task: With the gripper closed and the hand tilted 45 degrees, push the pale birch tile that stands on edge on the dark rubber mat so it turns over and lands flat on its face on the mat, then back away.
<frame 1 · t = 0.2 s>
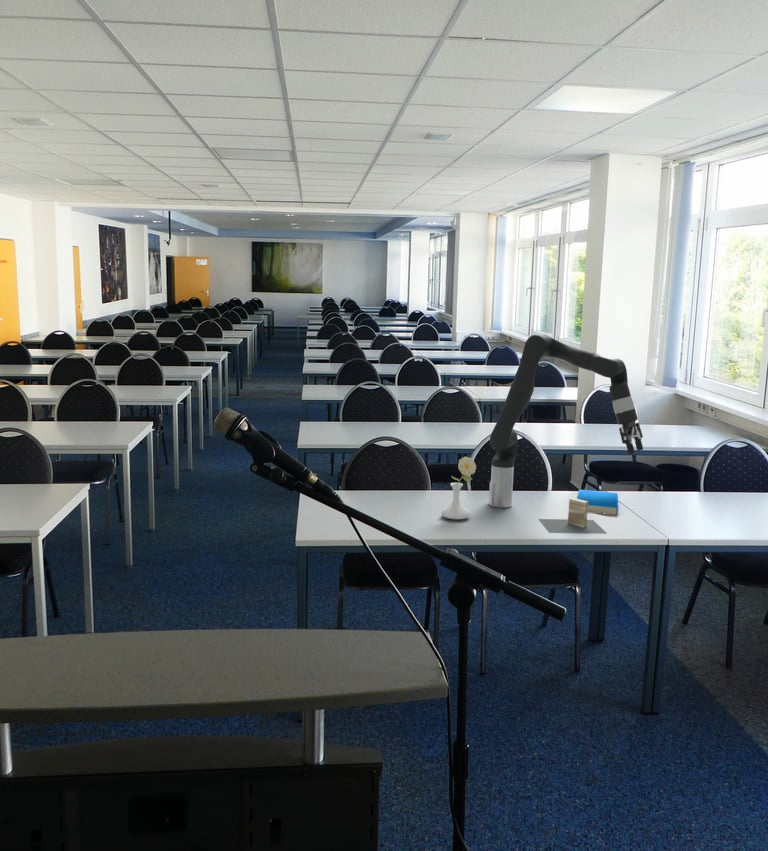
hand: (636, 451, 295), 31 cm above the table, tool tilted 20°, fingers open, 8 cm apart
mat: (571, 527, 304), on the table
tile: (577, 525, 305), point 1 cm above the table, touching mat
book: (597, 507, 337), on the table
flower in vase: (457, 518, 313), on the table
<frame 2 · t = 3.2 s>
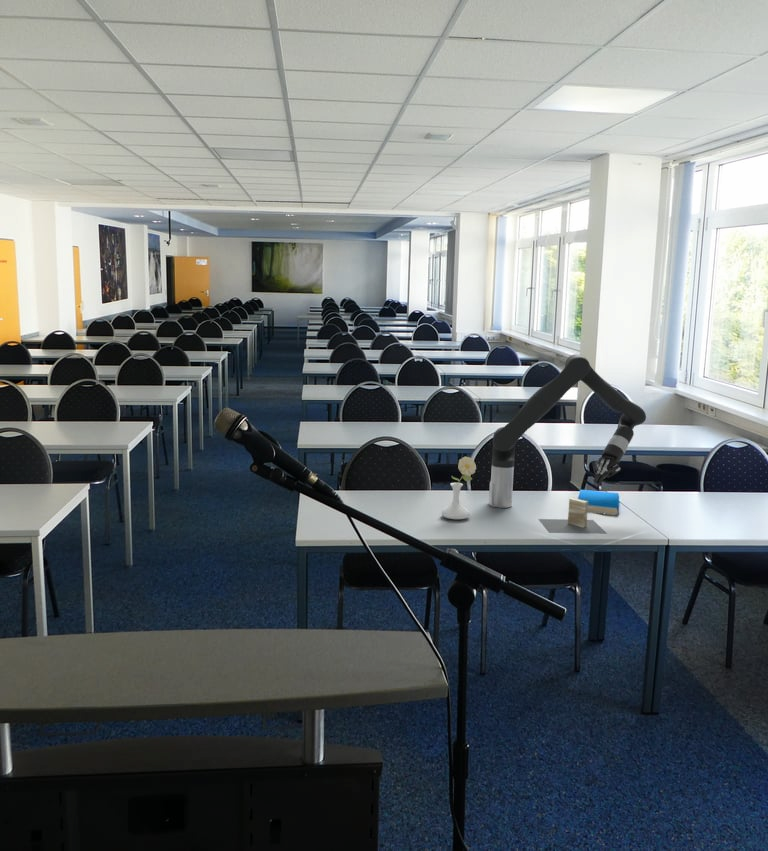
hand: (596, 483, 310), 16 cm above the table, tool tilted 45°, fingers closed
nothing on the table moved.
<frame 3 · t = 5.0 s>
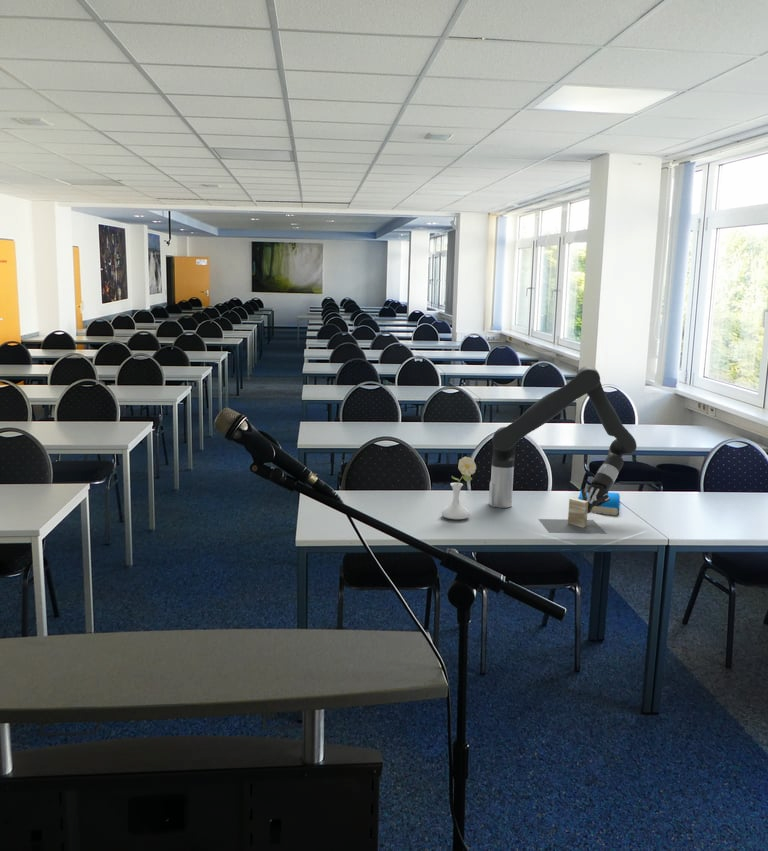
hand: (585, 512, 308), 5 cm above the table, tool tilted 45°, fingers closed
nothing on the table moved.
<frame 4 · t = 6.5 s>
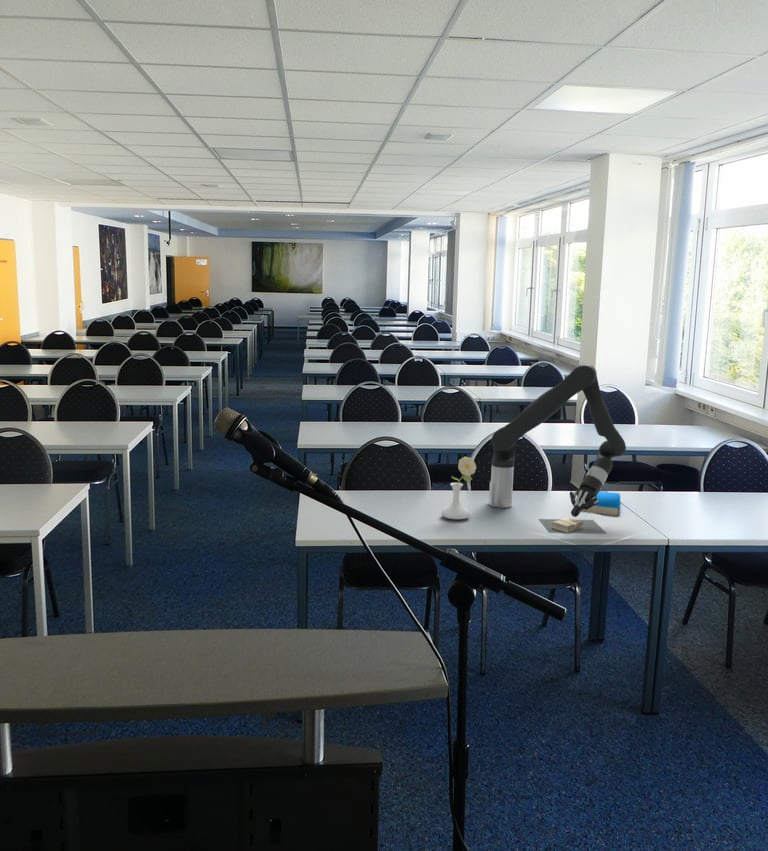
hand: (573, 515, 303), 5 cm above the table, tool tilted 45°, fingers closed
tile: (575, 522, 304), point 2 cm above the table, tilted 90°, touching mat
everything else where it was.
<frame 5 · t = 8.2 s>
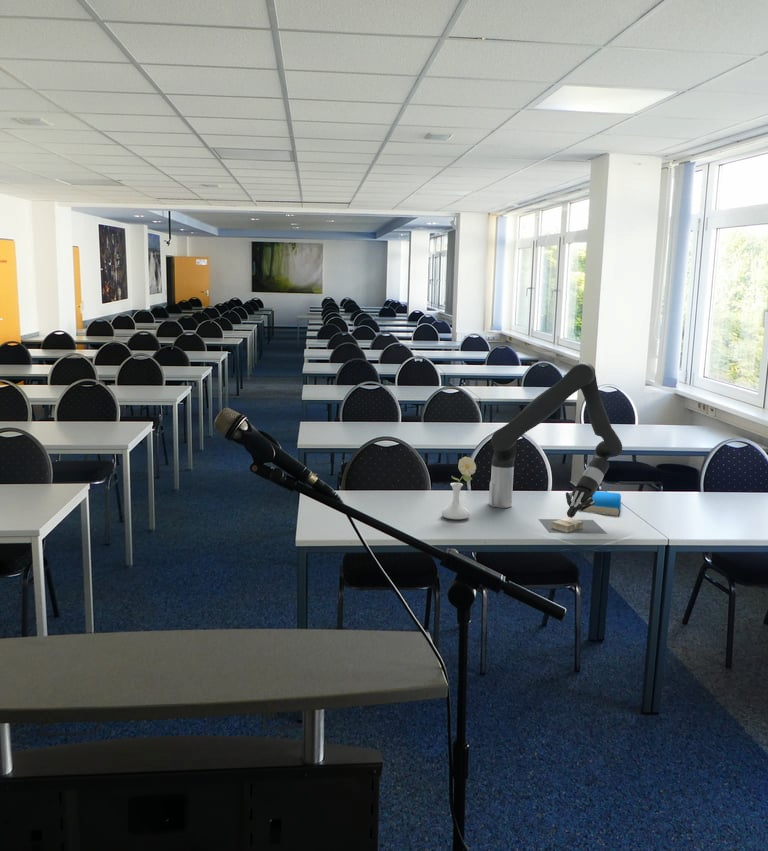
hand: (569, 516, 301), 5 cm above the table, tool tilted 45°, fingers closed
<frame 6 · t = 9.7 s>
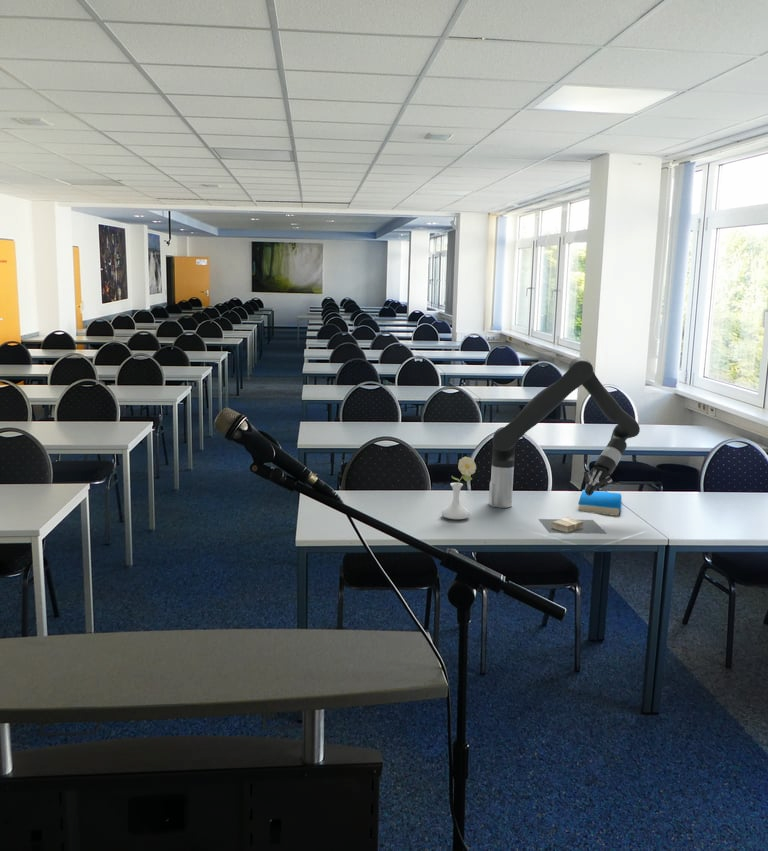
hand: (587, 494, 310), 11 cm above the table, tool tilted 45°, fingers closed
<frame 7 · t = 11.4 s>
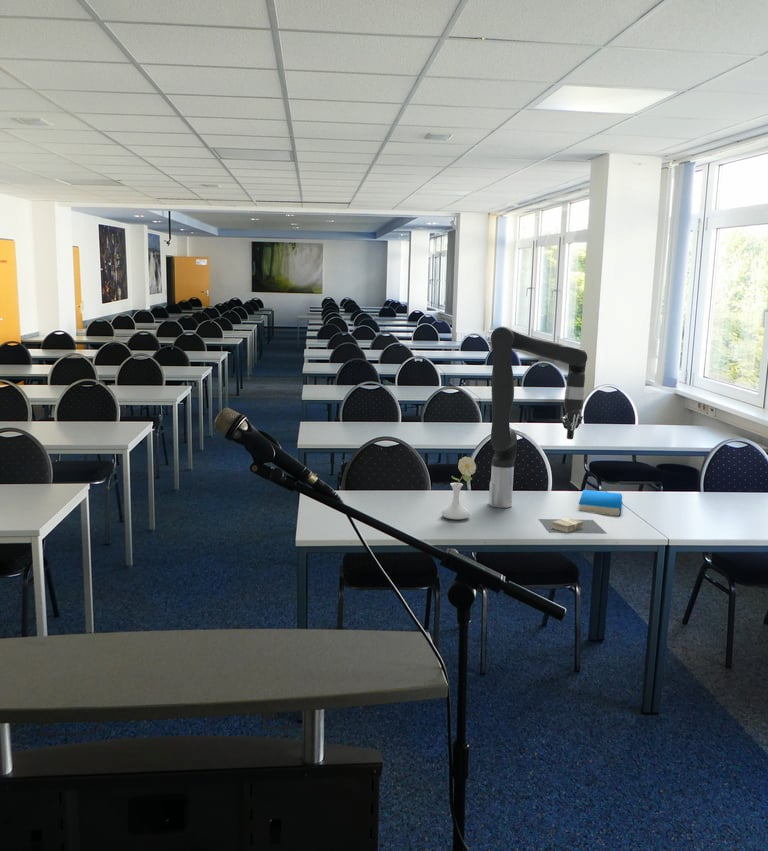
hand: (569, 438, 324), 30 cm above the table, tool pointing down, fingers closed
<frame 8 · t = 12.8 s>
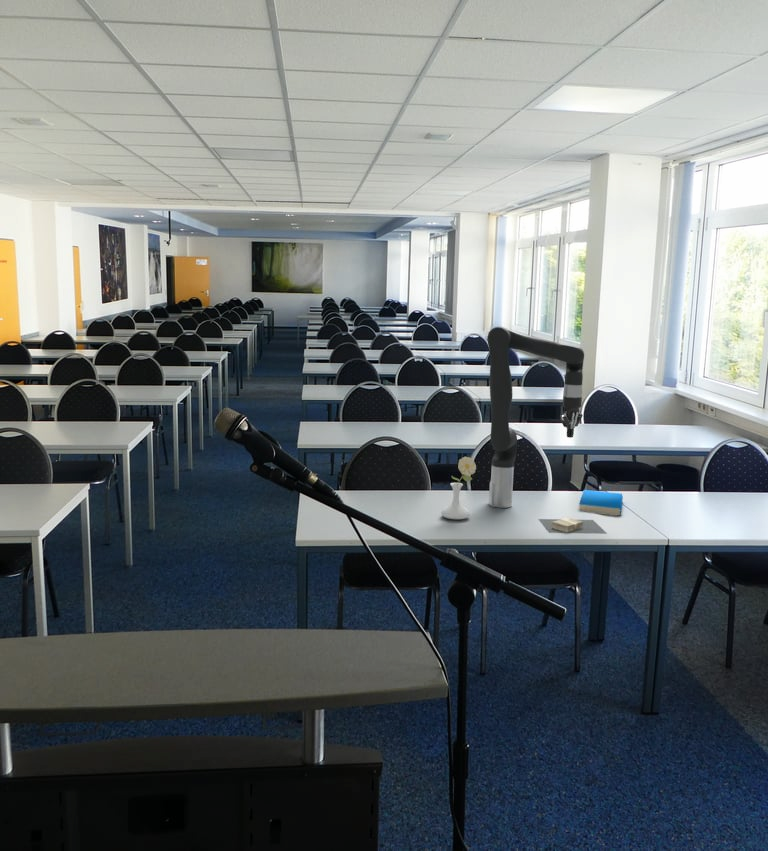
hand: (569, 437, 323), 31 cm above the table, tool pointing down, fingers closed
at the end: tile tilted 90°; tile inside the target area (1.5 cm from its centre), point 1.8 cm above the table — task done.
